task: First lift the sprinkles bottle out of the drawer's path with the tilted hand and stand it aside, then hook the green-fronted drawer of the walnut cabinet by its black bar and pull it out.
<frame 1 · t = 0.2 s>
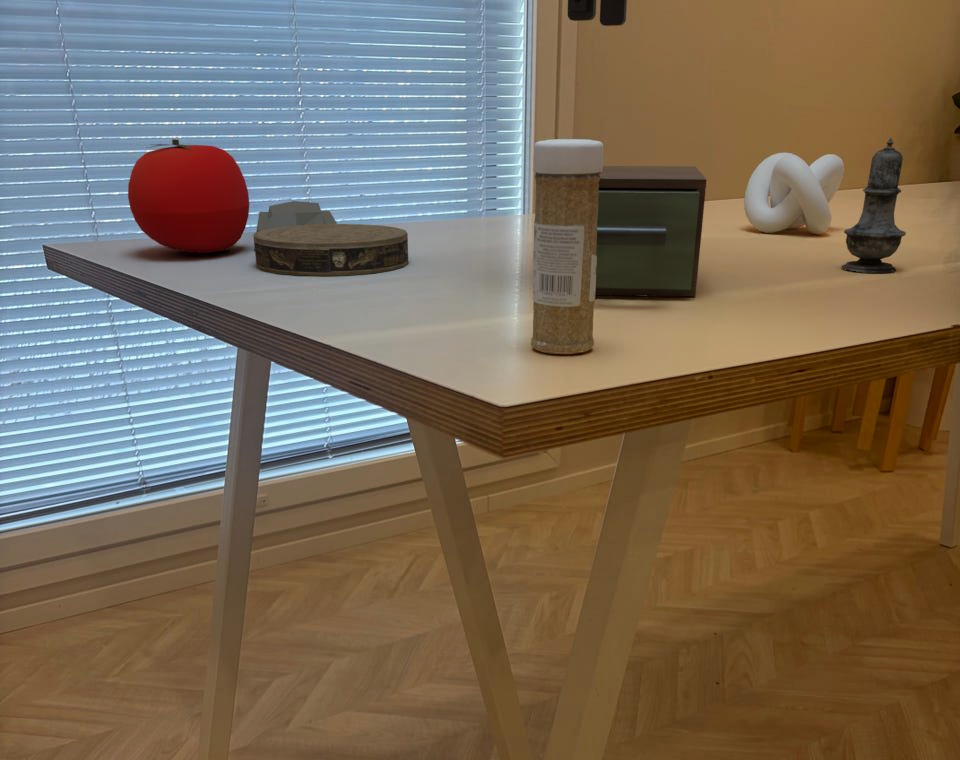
hand: (597, 23, 87), 21 cm above the table, tool pointing down, fingers open, 8 cm apart
white knot sculpture: (785, 233, 131), on the table
drawer: (627, 234, 92), point 5 cm above the table, slide at 0.5 cm
soap mold: (298, 240, 126), on the table
salt shaker: (868, 271, 105), on the table
tomato: (197, 255, 115), on the table
tin can: (333, 265, 108), on the table
sprinkles bottle: (561, 351, 73), on the table
cabinet: (623, 282, 98), on the table
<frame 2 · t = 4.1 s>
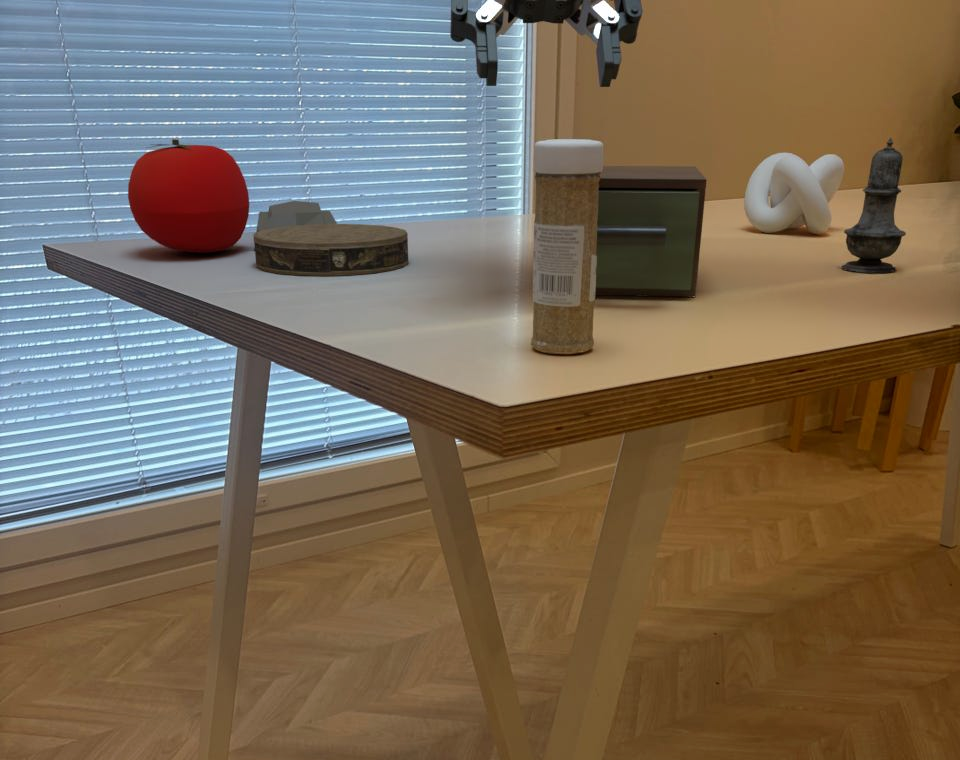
hand: (550, 77, 76), 17 cm above the table, tool tilted 45°, fingers open, 8 cm apart
nothing on the table moved.
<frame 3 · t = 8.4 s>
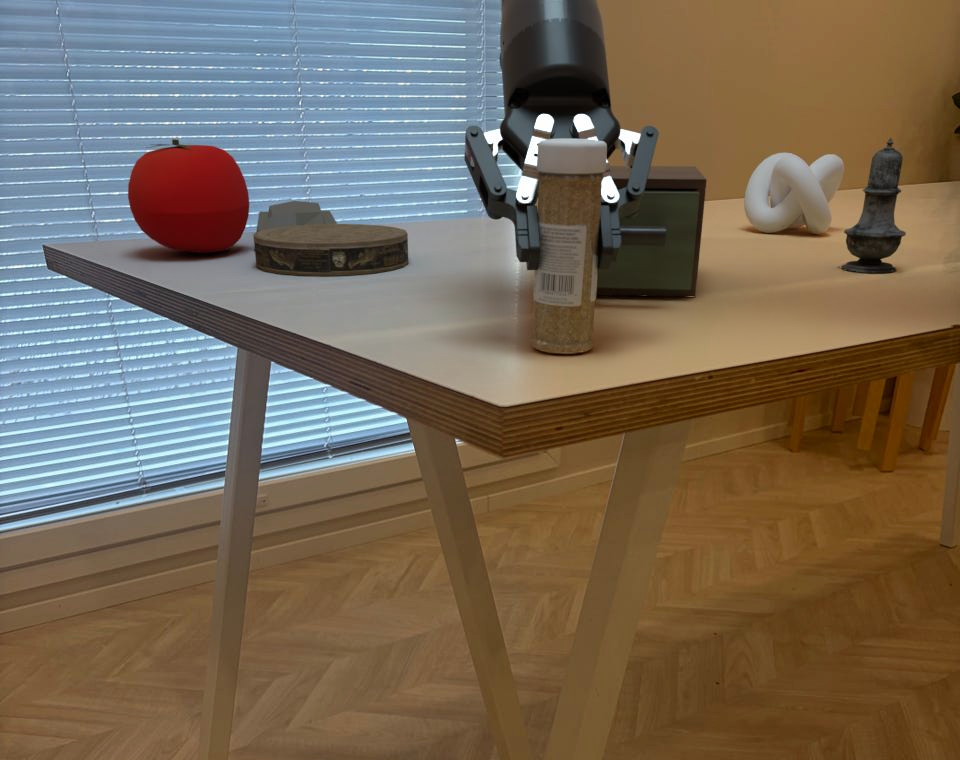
hand: (570, 261, 69), 6 cm above the table, tool tilted 45°, fingers closed on sprinkles bottle, 4 cm apart
sprinkles bottle: (561, 351, 73), on the table, touching gripper
everything else where it was.
when the fingers open (6 cm above the table, at t = 17.9 s): sprinkles bottle stays where it is, on the table.
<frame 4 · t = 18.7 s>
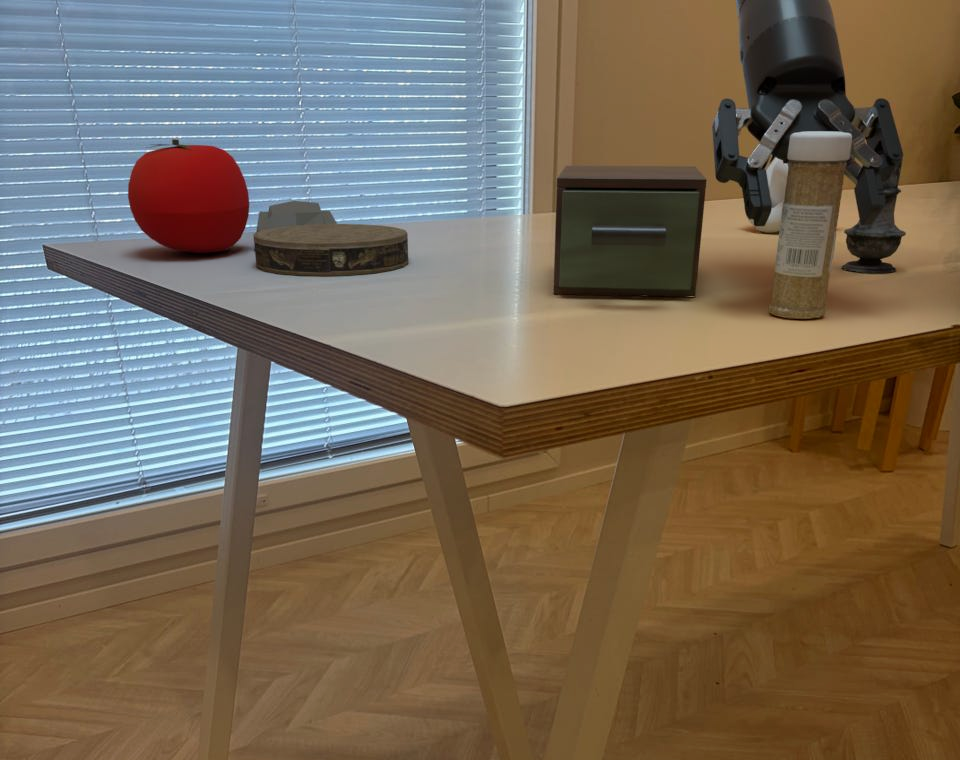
hand: (817, 219, 79), 7 cm above the table, tool tilted 45°, fingers open, 8 cm apart
sprinkles bottle: (795, 317, 84), on the table
everything else where it was.
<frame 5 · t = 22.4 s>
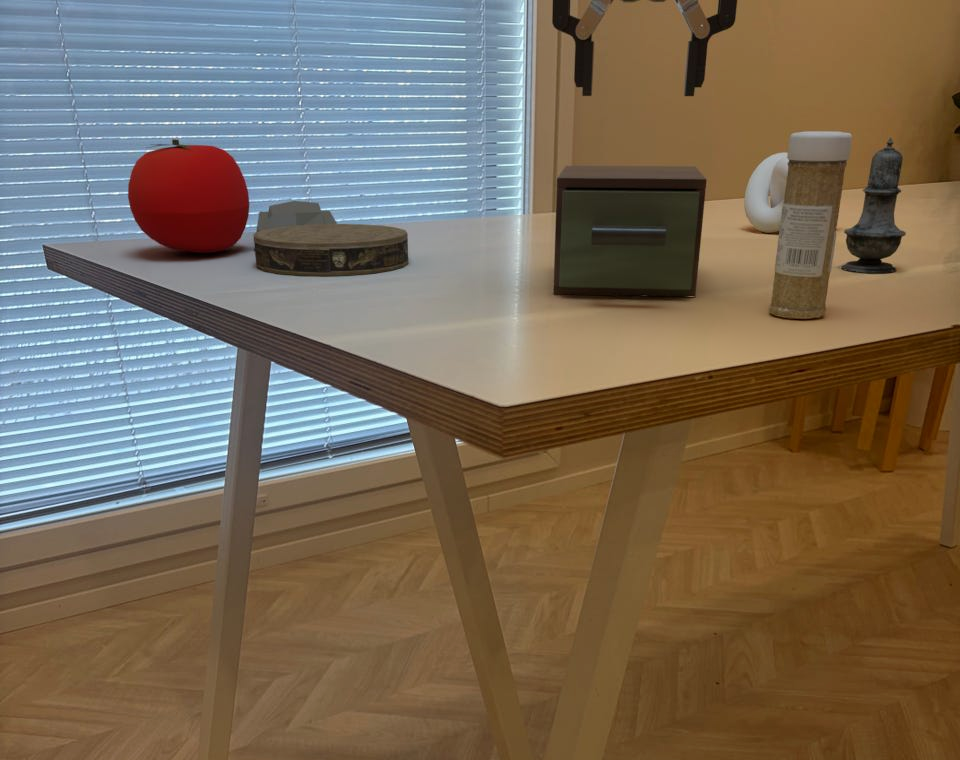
hand: (638, 95, 80), 16 cm above the table, tool pointing down, fingers open, 7 cm apart
nothing on the table moved.
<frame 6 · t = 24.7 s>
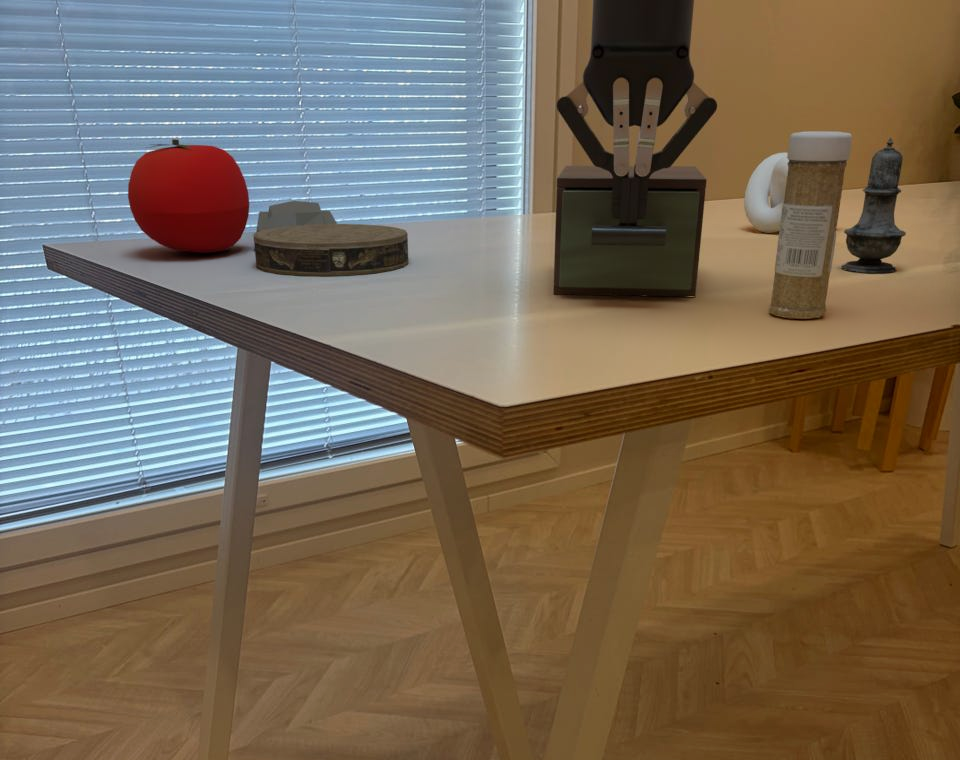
hand: (628, 225, 84), 6 cm above the table, tool pointing down, fingers closed
drawer: (627, 234, 92), point 5 cm above the table, slide at 0.5 cm, touching gripper
everything else where it was.
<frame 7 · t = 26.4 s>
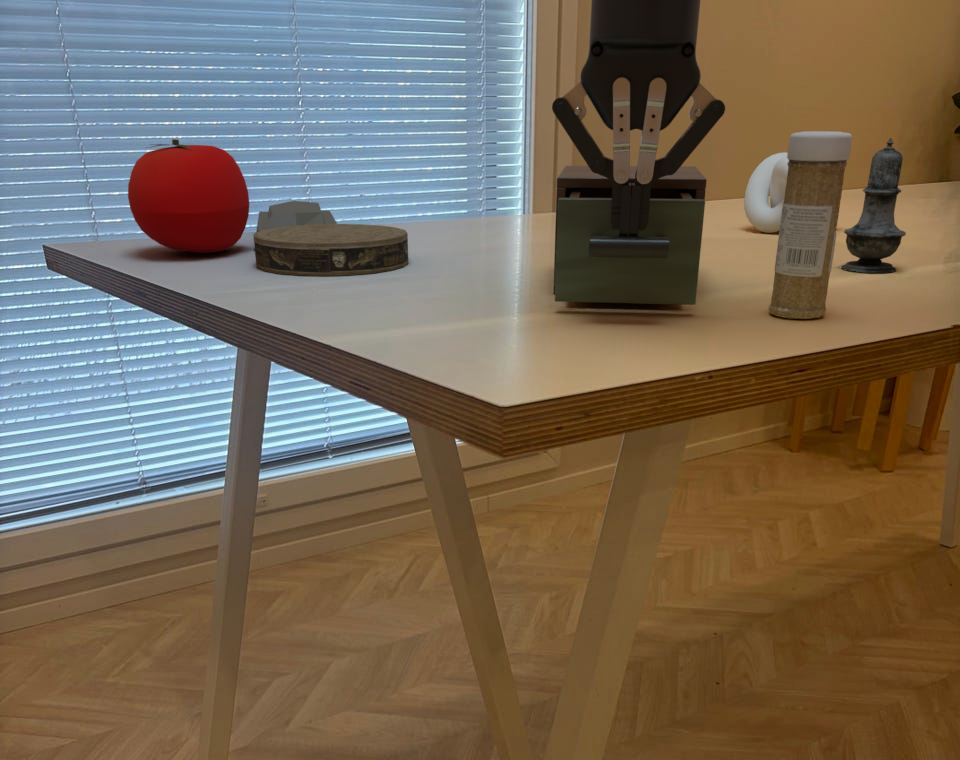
hand: (628, 236, 79), 6 cm above the table, tool pointing down, fingers closed
drawer: (627, 245, 86), point 5 cm above the table, slide at 7.3 cm, touching gripper
everything else where it was.
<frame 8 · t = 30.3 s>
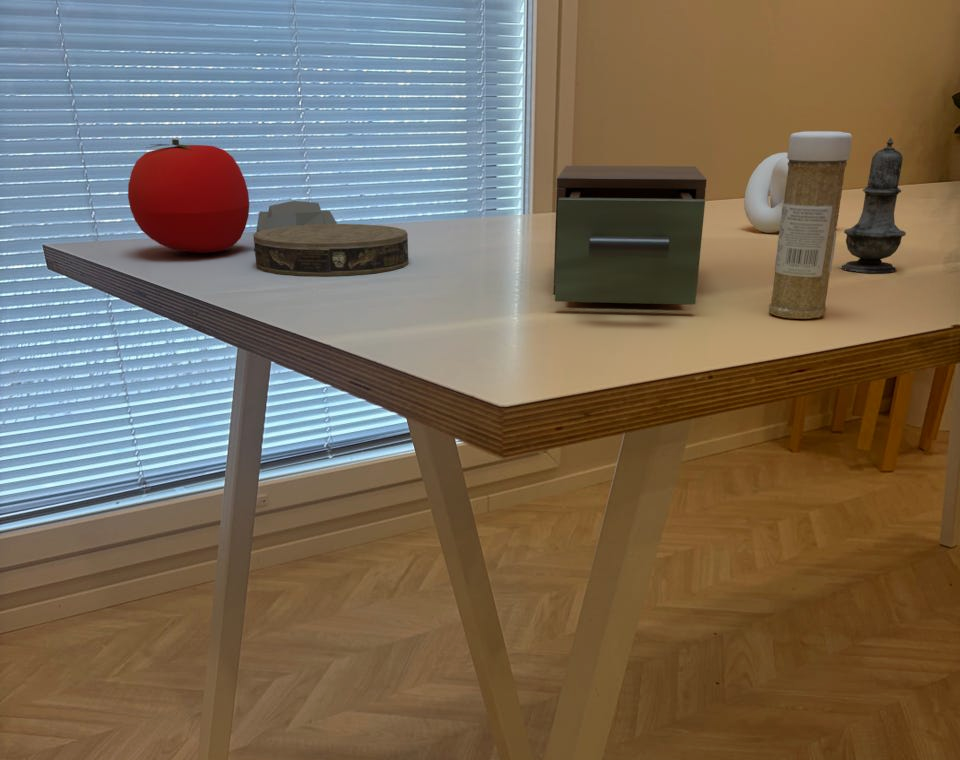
drawer: (627, 245, 86), point 5 cm above the table, slide at 7.2 cm
everything else where it was.
at the end: drawer slide at 7.2 cm; sprinkles bottle inside the target area (0.2 cm from its centre), on the table; sprinkles bottle tilted 0° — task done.
